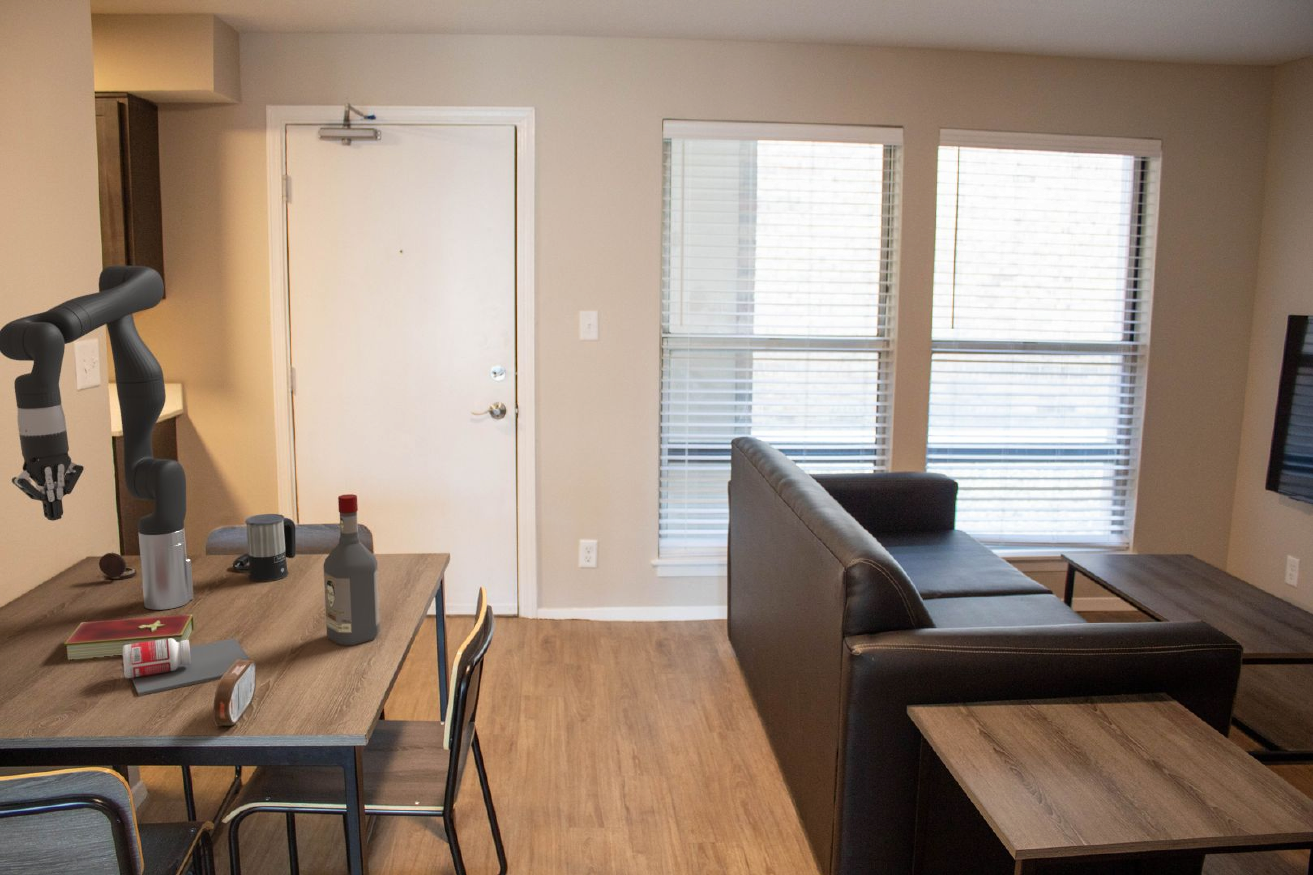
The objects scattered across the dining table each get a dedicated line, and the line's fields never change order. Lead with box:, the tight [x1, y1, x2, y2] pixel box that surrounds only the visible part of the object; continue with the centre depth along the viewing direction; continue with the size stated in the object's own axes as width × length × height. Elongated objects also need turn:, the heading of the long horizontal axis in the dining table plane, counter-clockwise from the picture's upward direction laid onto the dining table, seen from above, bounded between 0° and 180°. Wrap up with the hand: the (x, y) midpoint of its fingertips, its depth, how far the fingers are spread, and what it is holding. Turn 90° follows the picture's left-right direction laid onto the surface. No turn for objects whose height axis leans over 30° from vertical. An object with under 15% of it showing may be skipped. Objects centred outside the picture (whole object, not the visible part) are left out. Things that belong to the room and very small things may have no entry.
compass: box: [98, 551, 137, 580], centre depth 240 cm, size 8×8×7 cm
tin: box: [213, 659, 257, 727], centre depth 169 cm, size 15×3×8 cm, turn 5°
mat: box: [131, 637, 251, 697], centre depth 189 cm, size 20×18×1 cm
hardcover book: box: [63, 614, 195, 661], centre depth 199 cm, size 12×21×4 cm, turn 105°
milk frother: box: [232, 513, 297, 583], centre depth 244 cm, size 14×16×15 cm
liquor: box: [323, 493, 381, 647], centre depth 202 cm, size 9×9×30 cm
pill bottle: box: [122, 638, 191, 679], centre depth 184 cm, size 6×6×11 cm
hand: (54, 519), depth 187 cm, fingers closed
